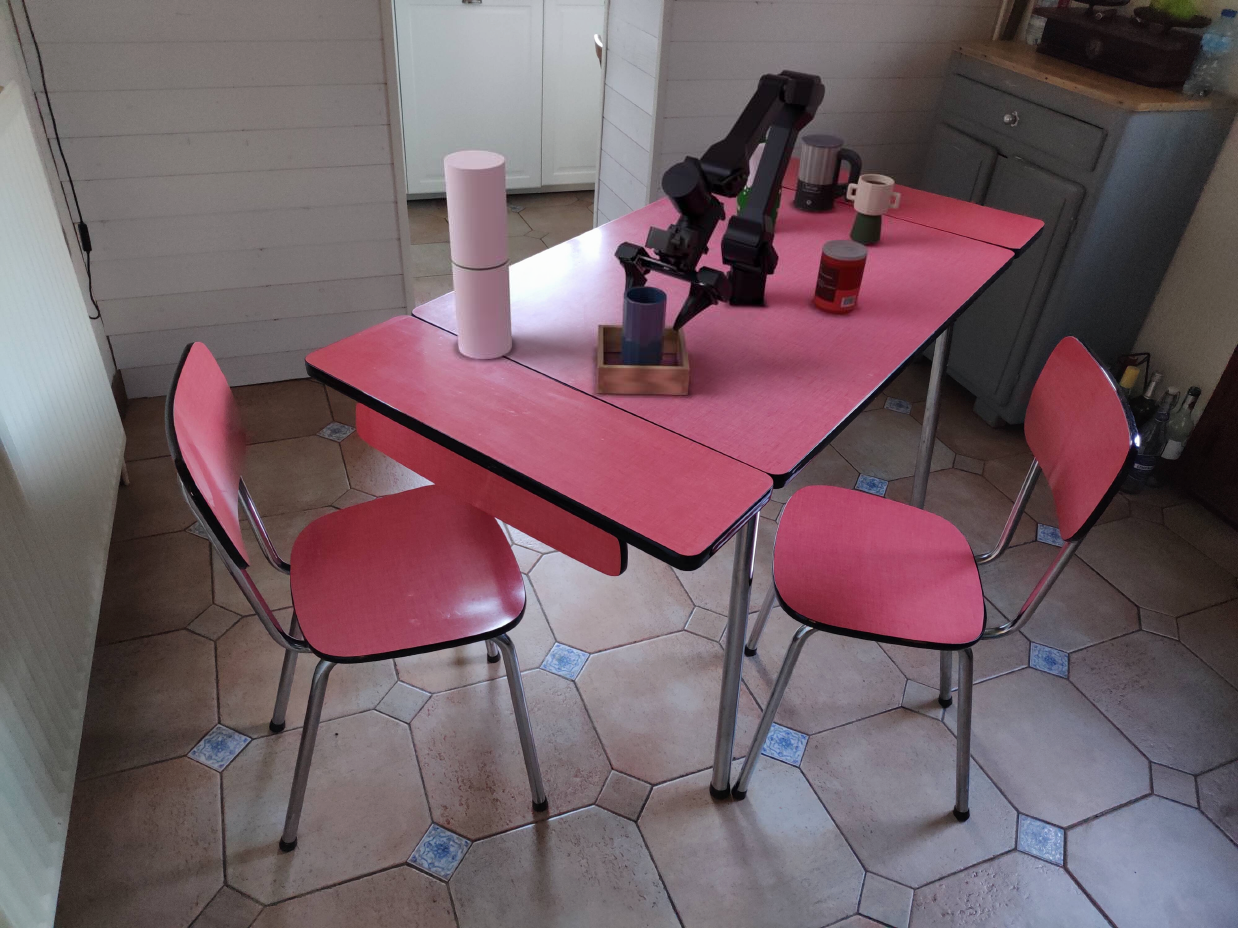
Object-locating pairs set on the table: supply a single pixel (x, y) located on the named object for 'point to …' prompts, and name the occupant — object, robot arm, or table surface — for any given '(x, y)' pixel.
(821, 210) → the milk frother
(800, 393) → the table surface
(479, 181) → the container
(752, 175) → the milk carton
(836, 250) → the canned food
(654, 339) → the tumbler
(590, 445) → the table surface
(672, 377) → the crate
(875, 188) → the character mug
